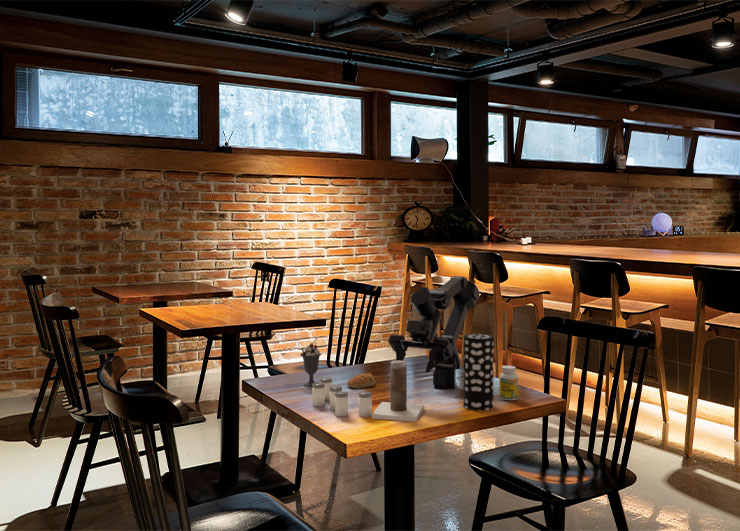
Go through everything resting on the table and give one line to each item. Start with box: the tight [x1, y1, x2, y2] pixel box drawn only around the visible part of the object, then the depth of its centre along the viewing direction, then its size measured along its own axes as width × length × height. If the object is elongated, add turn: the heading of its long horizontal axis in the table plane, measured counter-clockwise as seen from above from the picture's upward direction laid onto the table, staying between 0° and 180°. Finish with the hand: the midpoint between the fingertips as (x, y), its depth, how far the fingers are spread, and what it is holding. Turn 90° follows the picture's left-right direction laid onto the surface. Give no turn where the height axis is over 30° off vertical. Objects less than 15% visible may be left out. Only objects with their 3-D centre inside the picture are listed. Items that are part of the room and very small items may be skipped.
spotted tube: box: [462, 333, 495, 411], centre depth 183 cm, size 8×8×20 cm
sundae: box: [300, 337, 322, 388], centre depth 208 cm, size 7×7×15 cm
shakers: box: [311, 377, 373, 418], centre depth 182 cm, size 8×24×6 cm, turn 35°
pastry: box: [347, 372, 376, 389], centre depth 207 cm, size 9×7×4 cm
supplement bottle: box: [498, 365, 519, 401], centre depth 191 cm, size 5×5×10 cm
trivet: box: [371, 401, 425, 422], centre depth 177 cm, size 12×12×1 cm
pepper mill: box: [389, 360, 408, 412], centre depth 176 cm, size 4×4×13 cm
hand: (411, 370), depth 183 cm, fingers open, 9 cm apart
